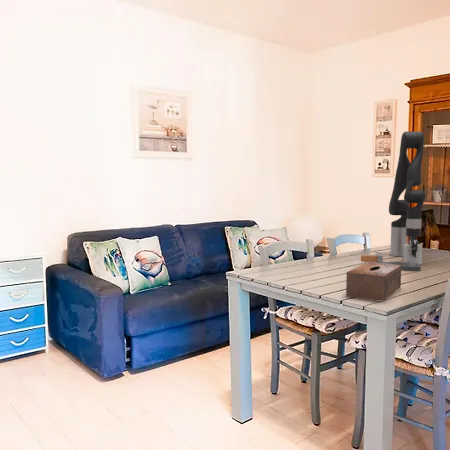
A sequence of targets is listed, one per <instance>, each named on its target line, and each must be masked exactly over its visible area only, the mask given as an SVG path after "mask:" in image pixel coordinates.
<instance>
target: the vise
mask: <svg viewBox="0 0 450 450" xmlns="http://www.w3.org/2000/svg"><path fill="white" fill-rule="evenodd" d="M364 263H366V262H364ZM373 263H376V262H373ZM383 263H384V264H394V265H401V271H405V272H406V271H408V272H409V271H411V272H412V271H413V272H421V270H422V269H421V268H422V267H421V266H420V265H418V264H417V263H415V256H414V255H413V254H412V253H407V262H404V261H402V262H399V261H383Z"/></svg>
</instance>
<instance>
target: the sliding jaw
mask: <svg viewBox="0 0 450 450" xmlns="http://www.w3.org/2000/svg"><path fill="white" fill-rule="evenodd" d="M360 262H364V263H365V262H376V263H383V262H384V255H383V254H382V252H381V251H376V252H375V255H374V254H373V255H372V254H371V255H370V254H360Z"/></svg>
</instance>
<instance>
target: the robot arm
mask: <svg viewBox="0 0 450 450" xmlns="http://www.w3.org/2000/svg"><path fill="white" fill-rule="evenodd" d="M399 145H400V147H399V156H398V162H397V167H396V171H395V175H394V176H395V177H394V183H393V189H392V193H391V196H390V200H389V204H388V213H389V214H390V216H400V217H399V218H398V219H396V220H393V221H391V224H390V250H389V251H390V256H393V257H404V244H410V247H411V253H412V254H413V255H414V256H415V259H416V252H417V245H418V244H419V241H418V238H417V237H421V236H422V210H423V206H424V203H425V199H426V192H425V191H424V190H422V189H412V188H414V187H418V186H421V185H422V163H423V155H424V145H425V134H424V132H422V131H403V133H402V135H401V139H400V144H399ZM408 149H409V150H411V149H412V150H413V149H415V150H416V152H415V156H414V157H413V159H412V161H410V159H409V157H408ZM403 193H404V195H403V199H400V196H401V195H402V194H403ZM410 204H416V205H415V206H412V207H410ZM413 248H415V249H413Z"/></svg>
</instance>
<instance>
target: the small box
mask: <svg viewBox="0 0 450 450" xmlns="http://www.w3.org/2000/svg"><path fill="white" fill-rule="evenodd" d="M413 249H415V248H413ZM407 253H411V247H410V244H409V243H407V244H404V256H403V262H407ZM422 255H423V246H422V244H420V243H418V245H417V252H416V259H415V263H417V264H418V265H419V266H420V265H422V258H423V256H422Z"/></svg>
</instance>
